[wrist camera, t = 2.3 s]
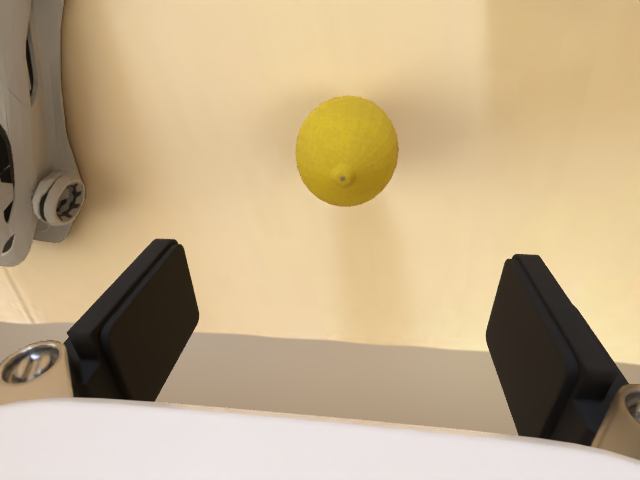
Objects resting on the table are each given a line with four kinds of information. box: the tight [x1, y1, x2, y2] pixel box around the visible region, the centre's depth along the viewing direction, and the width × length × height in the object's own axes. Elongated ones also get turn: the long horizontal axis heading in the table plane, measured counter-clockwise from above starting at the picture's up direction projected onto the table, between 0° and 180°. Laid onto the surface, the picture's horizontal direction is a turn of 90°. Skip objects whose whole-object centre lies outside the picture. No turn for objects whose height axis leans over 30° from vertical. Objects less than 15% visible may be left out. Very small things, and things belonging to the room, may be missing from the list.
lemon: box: [296, 96, 399, 206], centre depth 21 cm, size 6×6×8 cm
